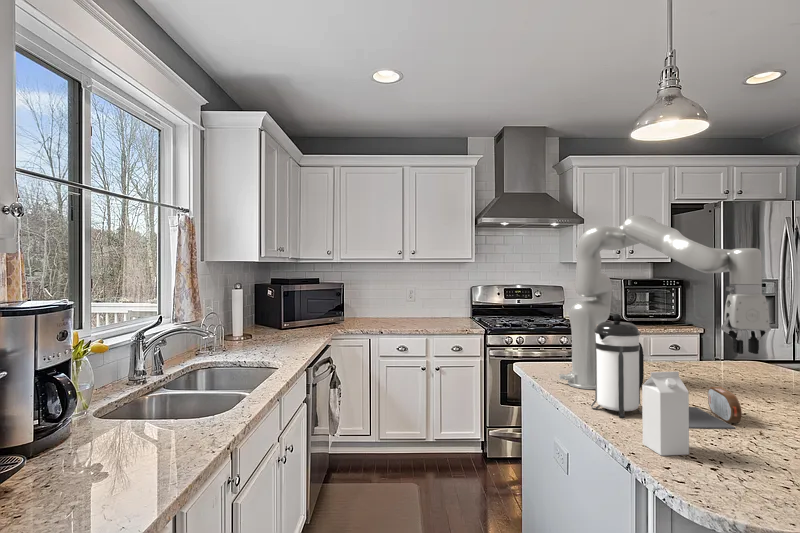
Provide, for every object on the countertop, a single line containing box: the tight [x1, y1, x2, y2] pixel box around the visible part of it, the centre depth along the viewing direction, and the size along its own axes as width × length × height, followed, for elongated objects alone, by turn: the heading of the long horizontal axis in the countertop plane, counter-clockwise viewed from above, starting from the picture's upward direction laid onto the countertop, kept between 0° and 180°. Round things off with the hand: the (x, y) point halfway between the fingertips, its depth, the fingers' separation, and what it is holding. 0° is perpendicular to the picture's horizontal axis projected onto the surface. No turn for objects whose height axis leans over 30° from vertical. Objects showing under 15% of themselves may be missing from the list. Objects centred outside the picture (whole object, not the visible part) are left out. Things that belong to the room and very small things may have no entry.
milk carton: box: [641, 371, 690, 457], centre depth 112 cm, size 7×7×19 cm
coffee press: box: [591, 313, 645, 419], centre depth 143 cm, size 17×16×30 cm
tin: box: [707, 385, 743, 424], centre depth 134 cm, size 15×3×8 cm, turn 168°
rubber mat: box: [689, 406, 736, 430], centre depth 135 cm, size 12×18×1 cm
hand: (745, 352), depth 134 cm, fingers open, 3 cm apart
